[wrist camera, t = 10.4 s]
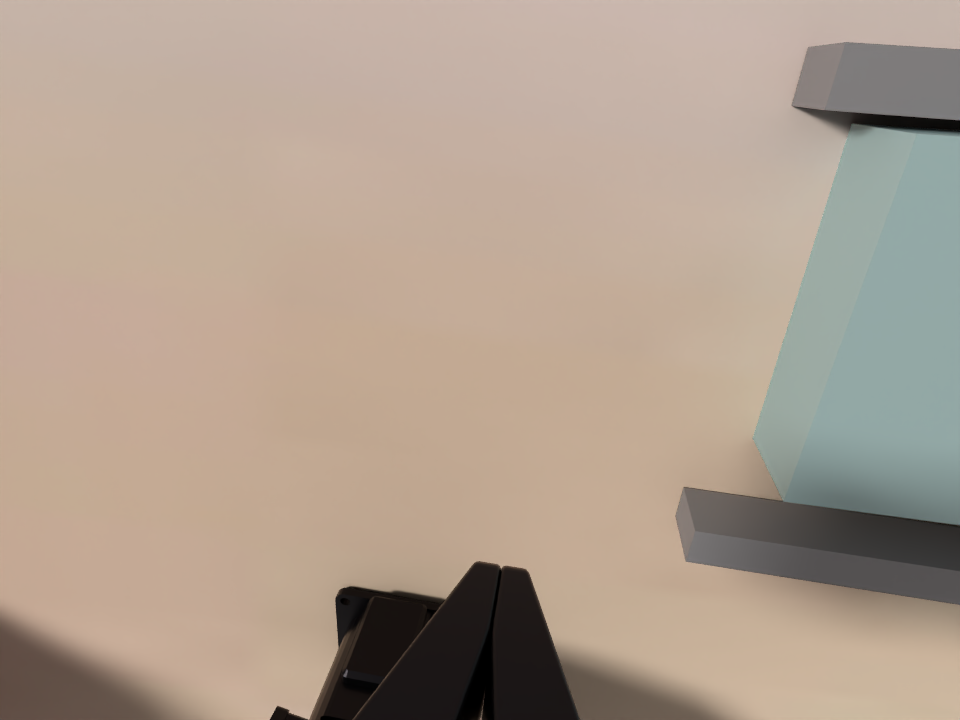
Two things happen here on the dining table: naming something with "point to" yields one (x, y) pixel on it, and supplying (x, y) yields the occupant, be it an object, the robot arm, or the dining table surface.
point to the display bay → (816, 530)
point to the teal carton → (876, 338)
